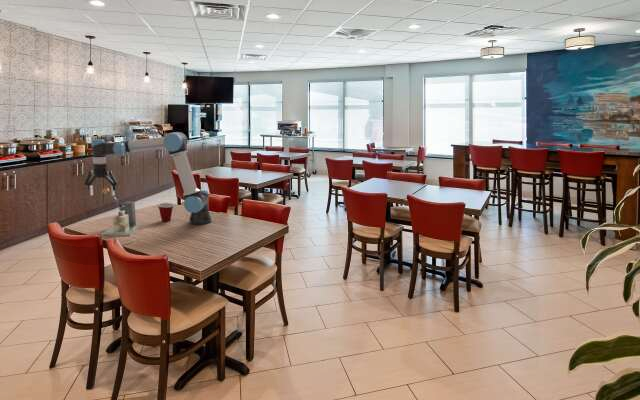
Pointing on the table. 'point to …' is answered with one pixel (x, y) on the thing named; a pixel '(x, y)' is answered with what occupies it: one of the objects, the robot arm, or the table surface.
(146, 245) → the table surface
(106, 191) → the press lever
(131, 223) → the press
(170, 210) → the plastic cup
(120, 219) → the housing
